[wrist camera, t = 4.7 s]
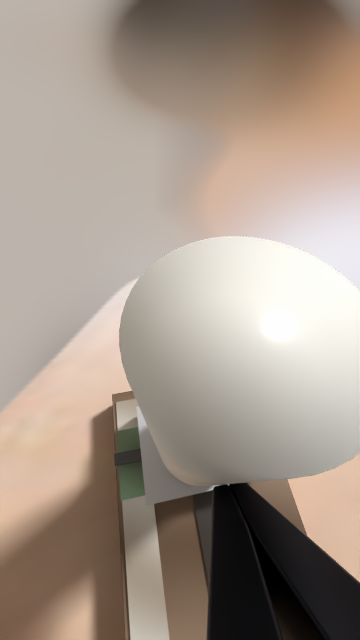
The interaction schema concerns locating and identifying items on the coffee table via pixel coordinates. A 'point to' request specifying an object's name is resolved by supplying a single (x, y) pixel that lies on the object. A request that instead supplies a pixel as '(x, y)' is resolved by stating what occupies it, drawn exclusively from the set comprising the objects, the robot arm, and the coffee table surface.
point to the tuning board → (168, 544)
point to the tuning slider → (240, 366)
